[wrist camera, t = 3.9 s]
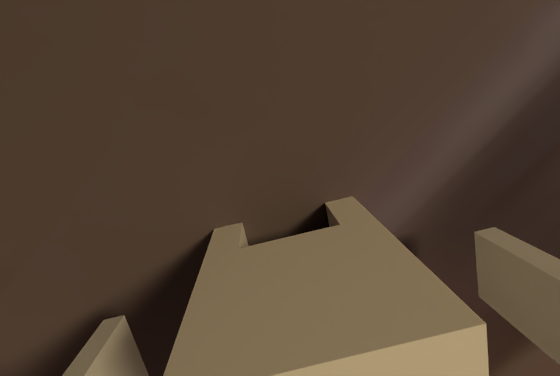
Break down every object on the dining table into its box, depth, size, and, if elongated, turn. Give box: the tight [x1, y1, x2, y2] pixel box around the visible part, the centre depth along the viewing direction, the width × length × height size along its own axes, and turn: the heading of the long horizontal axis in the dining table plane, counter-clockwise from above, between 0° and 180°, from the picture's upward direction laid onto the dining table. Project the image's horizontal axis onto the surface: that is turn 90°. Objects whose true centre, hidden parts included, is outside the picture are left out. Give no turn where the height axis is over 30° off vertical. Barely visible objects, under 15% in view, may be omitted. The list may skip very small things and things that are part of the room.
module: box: [163, 196, 489, 376], centre depth 10 cm, size 6×5×8 cm
